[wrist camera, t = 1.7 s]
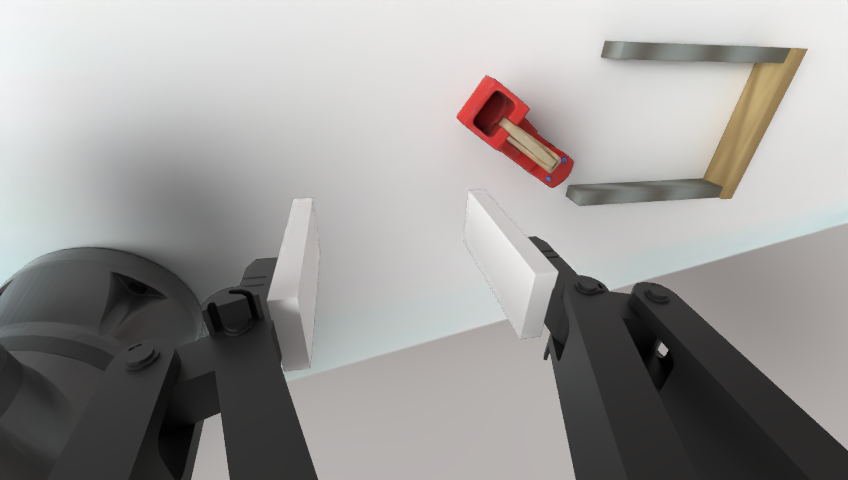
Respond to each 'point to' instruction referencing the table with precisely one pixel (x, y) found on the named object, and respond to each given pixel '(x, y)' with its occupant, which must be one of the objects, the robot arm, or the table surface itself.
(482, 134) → the toy fire truck
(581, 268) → the table surface
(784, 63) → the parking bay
